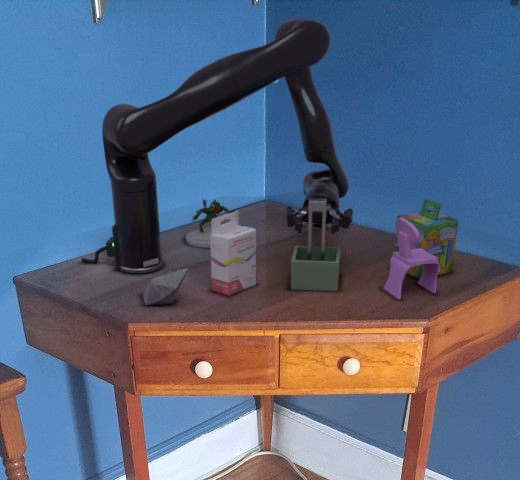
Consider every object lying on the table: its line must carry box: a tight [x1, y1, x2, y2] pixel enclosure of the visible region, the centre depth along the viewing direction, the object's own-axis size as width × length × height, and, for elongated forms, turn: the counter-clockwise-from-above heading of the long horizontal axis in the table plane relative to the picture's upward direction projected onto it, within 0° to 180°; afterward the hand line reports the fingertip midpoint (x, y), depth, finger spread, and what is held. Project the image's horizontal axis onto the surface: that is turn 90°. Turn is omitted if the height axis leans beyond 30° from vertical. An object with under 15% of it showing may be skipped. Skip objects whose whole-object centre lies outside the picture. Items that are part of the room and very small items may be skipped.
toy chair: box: [382, 217, 439, 300], centre depth 157 cm, size 8×9×15 cm
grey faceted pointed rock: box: [142, 267, 190, 306], centre depth 156 cm, size 12×6×9 cm
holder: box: [290, 245, 342, 292], centre depth 164 cm, size 9×9×6 cm
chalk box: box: [393, 198, 459, 281], centre depth 168 cm, size 9×9×15 cm
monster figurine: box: [185, 197, 236, 249], centre depth 188 cm, size 12×12×10 cm
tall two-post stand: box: [307, 198, 327, 261], centre depth 162 cm, size 4×4×17 cm
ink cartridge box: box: [210, 210, 257, 297], centre depth 160 cm, size 9×5×15 cm, turn 141°
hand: (316, 228), depth 158 cm, fingers open, 6 cm apart
